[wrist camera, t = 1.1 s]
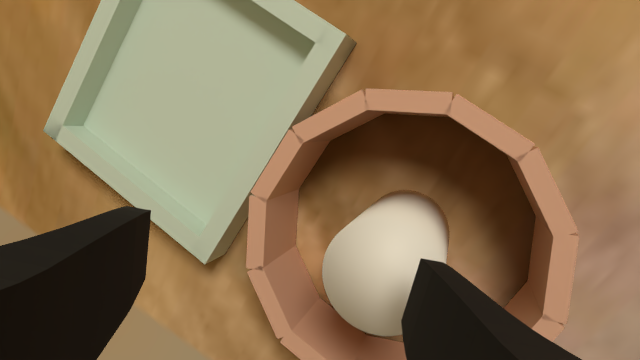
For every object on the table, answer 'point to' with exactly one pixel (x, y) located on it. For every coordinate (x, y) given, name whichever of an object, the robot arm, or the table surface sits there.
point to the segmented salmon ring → (288, 267)
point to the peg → (383, 259)
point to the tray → (193, 104)
